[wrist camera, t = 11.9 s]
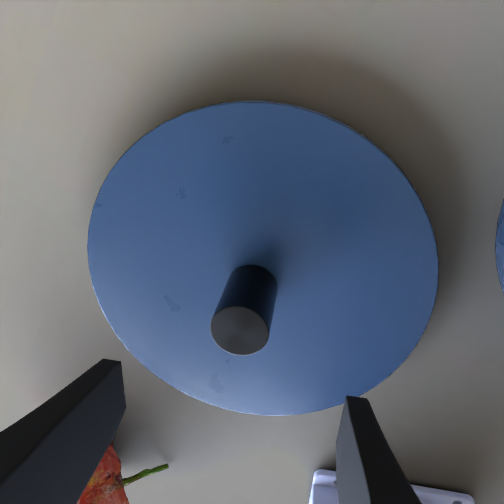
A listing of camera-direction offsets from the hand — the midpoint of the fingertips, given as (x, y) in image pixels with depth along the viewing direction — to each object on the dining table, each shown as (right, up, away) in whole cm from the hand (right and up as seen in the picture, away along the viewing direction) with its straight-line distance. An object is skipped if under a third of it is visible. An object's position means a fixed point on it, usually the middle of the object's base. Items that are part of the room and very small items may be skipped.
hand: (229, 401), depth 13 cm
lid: (+1, +3, +7) cm, 8 cm away
